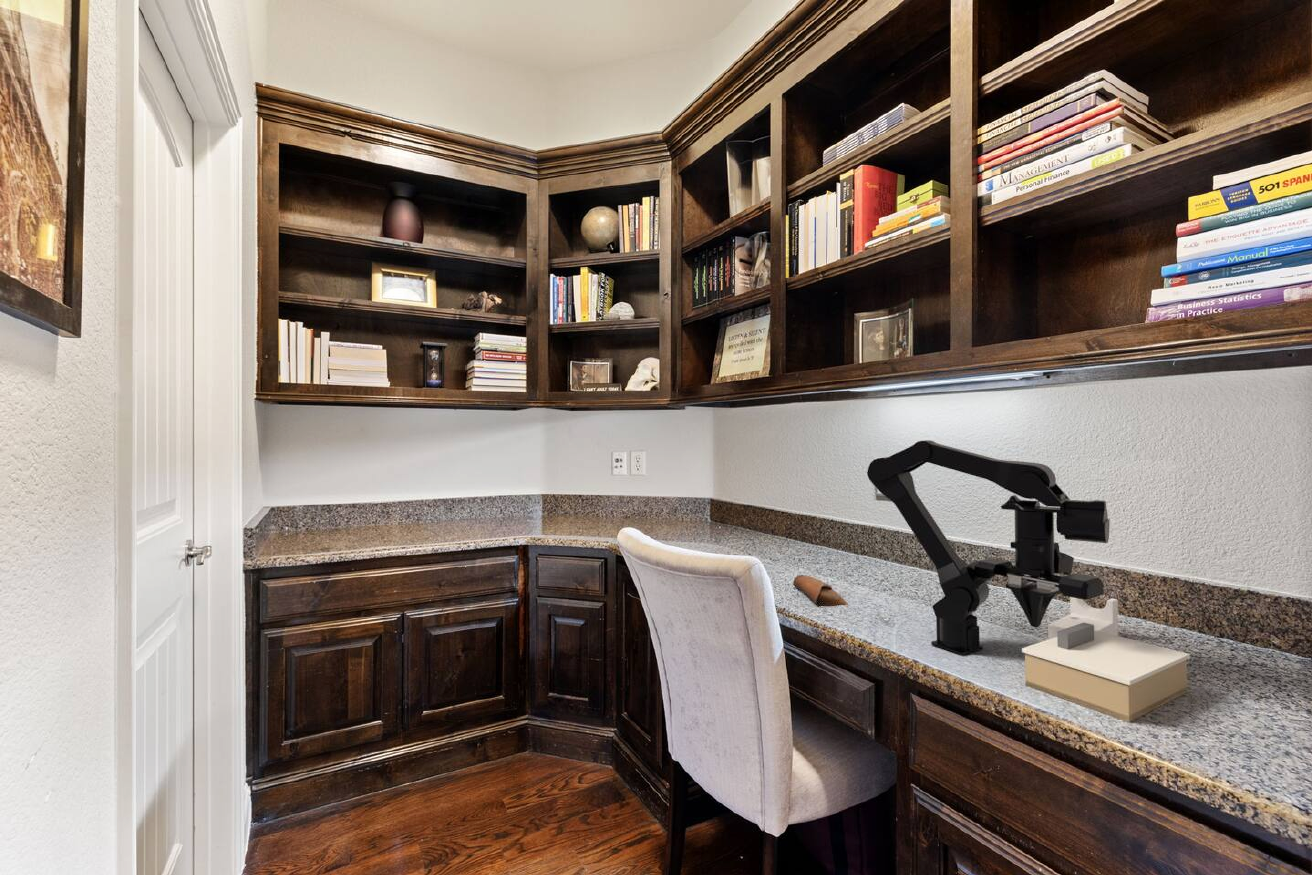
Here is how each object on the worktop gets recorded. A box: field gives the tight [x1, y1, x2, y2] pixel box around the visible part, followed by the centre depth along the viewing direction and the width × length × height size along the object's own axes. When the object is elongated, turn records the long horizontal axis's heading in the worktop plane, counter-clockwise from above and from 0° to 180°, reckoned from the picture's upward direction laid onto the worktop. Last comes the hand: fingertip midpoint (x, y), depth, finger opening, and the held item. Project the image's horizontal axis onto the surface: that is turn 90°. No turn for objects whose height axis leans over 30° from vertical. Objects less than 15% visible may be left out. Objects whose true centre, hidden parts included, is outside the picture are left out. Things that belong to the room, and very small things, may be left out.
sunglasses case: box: [792, 574, 849, 608], centre depth 148 cm, size 18×7×7 cm
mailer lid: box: [1021, 623, 1191, 685], centre depth 93 cm, size 15×19×3 cm
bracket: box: [1047, 597, 1119, 639], centre depth 115 cm, size 13×7×8 cm, turn 126°
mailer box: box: [1024, 653, 1188, 723], centre depth 94 cm, size 14×18×5 cm
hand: (1035, 626), depth 103 cm, fingers closed
